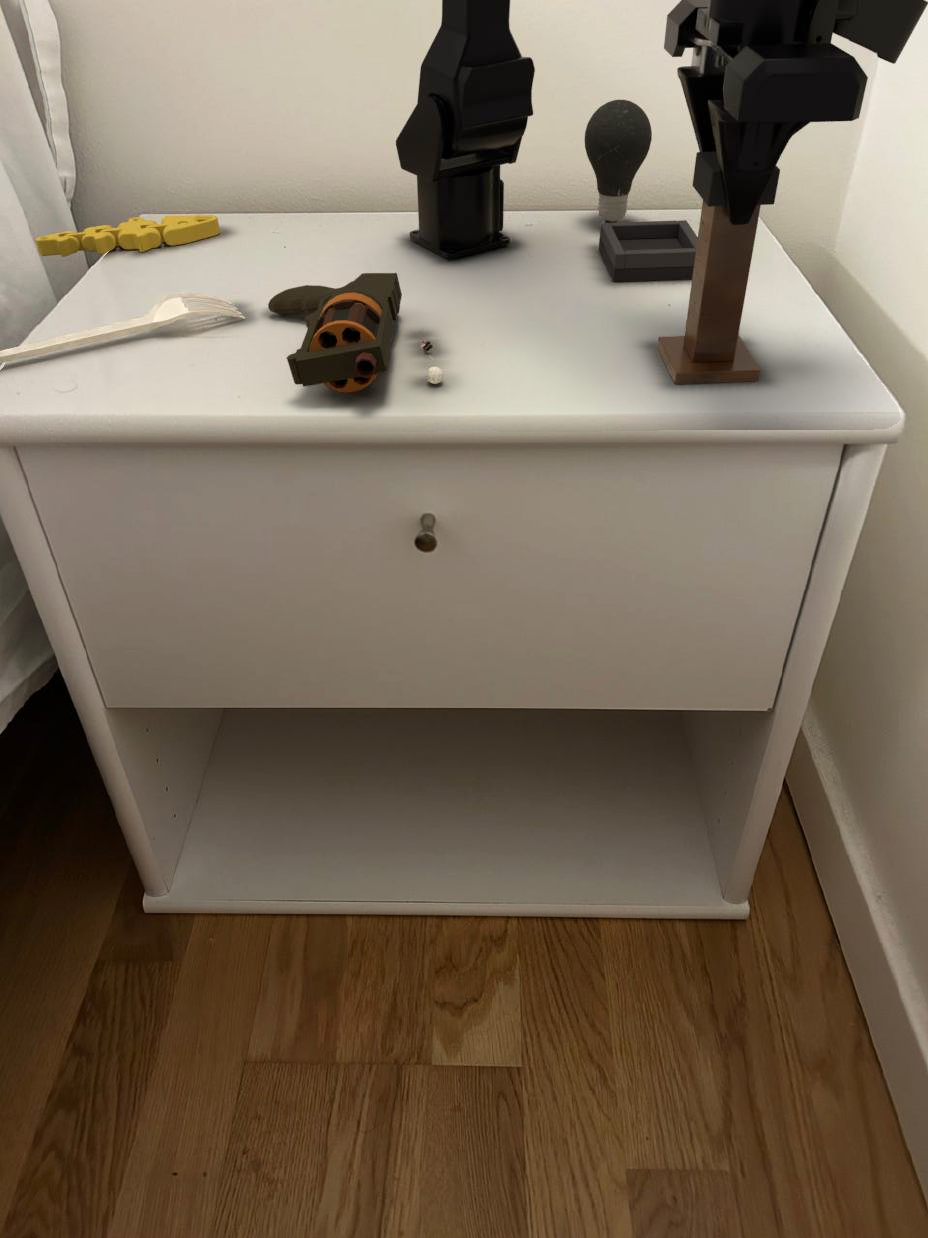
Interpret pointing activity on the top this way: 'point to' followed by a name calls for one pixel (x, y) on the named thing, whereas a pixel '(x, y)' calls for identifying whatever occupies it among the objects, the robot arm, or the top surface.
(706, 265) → the stand
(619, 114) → the light bulb
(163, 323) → the fork
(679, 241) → the base pad
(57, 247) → the toy
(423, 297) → the top surface
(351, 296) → the toy gun
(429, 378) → the figurine set
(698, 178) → the black block
